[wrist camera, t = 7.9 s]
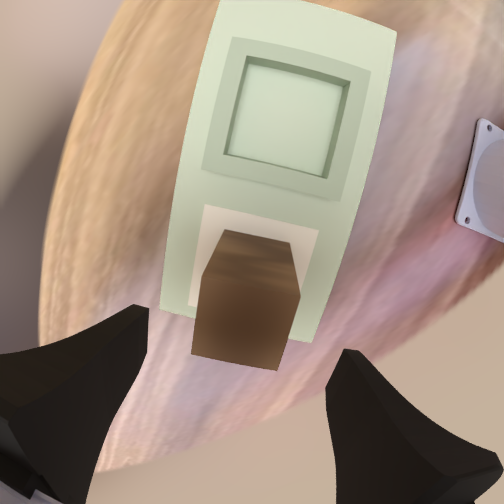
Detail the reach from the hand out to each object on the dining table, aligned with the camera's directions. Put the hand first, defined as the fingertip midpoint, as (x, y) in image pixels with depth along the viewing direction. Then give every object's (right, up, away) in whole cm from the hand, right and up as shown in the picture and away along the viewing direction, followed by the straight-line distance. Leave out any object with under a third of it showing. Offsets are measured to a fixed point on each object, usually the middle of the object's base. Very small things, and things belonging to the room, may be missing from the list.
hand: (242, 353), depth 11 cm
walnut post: (0, +3, +9) cm, 9 cm away
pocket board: (+2, +9, +7) cm, 11 cm away
